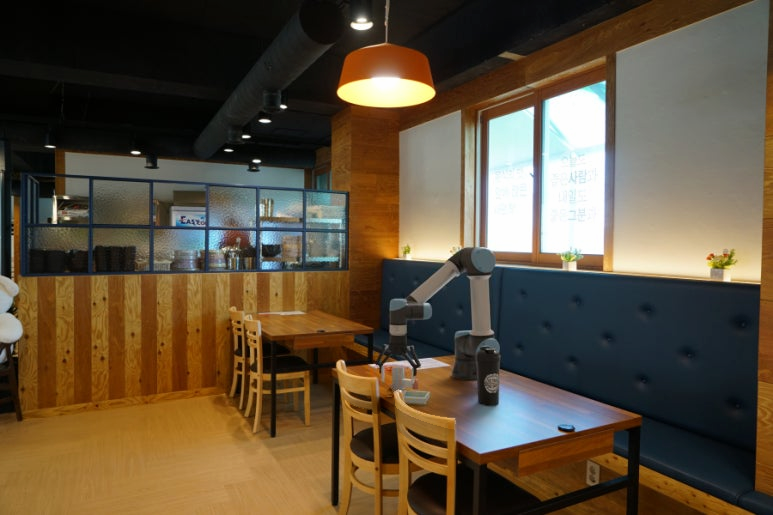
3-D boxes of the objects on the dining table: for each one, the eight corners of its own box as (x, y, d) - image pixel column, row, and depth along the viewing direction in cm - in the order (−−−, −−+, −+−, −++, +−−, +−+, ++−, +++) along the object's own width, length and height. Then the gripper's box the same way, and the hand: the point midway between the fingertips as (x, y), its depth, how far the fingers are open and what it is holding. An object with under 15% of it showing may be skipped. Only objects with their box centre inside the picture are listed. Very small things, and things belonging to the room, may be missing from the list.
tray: (405, 395, 225) (404, 390, 225) (429, 397, 222) (429, 391, 222) (399, 403, 214) (399, 397, 214) (425, 405, 211) (425, 398, 211)
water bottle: (482, 407, 208) (482, 350, 207) (471, 400, 217) (471, 346, 217) (505, 405, 210) (505, 349, 210) (493, 398, 220) (493, 344, 220)
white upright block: (394, 392, 231) (394, 365, 231) (404, 392, 230) (404, 366, 230) (392, 395, 226) (392, 367, 226) (402, 395, 225) (402, 368, 225)
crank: (392, 385, 237) (392, 375, 237) (395, 384, 240) (395, 374, 240) (415, 389, 230) (415, 379, 230) (419, 388, 232) (419, 377, 232)
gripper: (368, 334, 227) (368, 382, 227) (424, 336, 221) (424, 386, 221) (373, 331, 235) (373, 378, 235) (427, 334, 228) (427, 382, 228)
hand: (397, 382), depth 228 cm, fingers open, 13 cm apart
